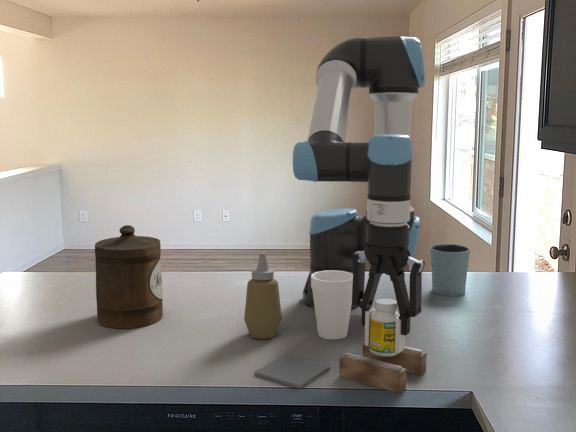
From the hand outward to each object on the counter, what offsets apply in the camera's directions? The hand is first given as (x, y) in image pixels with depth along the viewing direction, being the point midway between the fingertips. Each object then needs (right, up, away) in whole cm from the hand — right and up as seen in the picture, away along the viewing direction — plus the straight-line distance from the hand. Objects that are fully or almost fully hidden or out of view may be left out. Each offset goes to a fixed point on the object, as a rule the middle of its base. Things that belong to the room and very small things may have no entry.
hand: (384, 346), depth 112 cm
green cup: (+25, +4, +51) cm, 57 cm away
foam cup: (-8, -2, +20) cm, 22 cm away
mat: (-17, -5, +1) cm, 18 cm away
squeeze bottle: (-23, -2, +20) cm, 30 cm away
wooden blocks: (0, -5, 0) cm, 5 cm away
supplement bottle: (0, -1, 0) cm, 1 cm away
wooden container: (-54, 0, +31) cm, 62 cm away
